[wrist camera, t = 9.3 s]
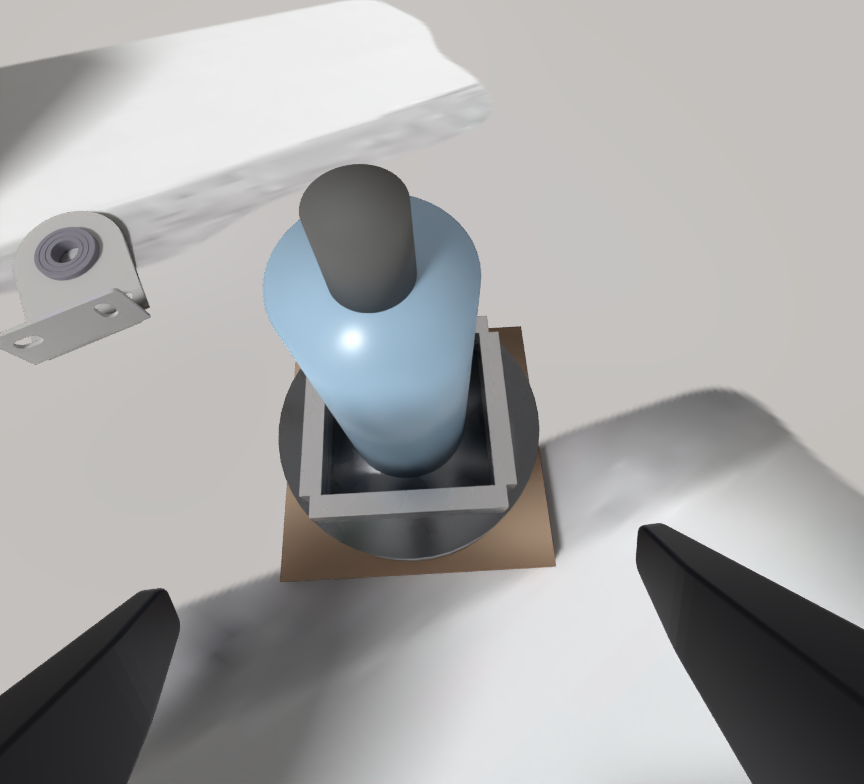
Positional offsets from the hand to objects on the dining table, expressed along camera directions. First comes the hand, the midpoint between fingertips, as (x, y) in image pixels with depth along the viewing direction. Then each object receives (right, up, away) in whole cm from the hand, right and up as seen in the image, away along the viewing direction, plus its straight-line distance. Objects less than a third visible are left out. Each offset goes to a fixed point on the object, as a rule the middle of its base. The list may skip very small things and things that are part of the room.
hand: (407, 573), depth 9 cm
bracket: (-21, +9, +19) cm, 30 cm away
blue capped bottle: (-1, +2, +11) cm, 11 cm away
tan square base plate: (0, +1, +14) cm, 14 cm away
